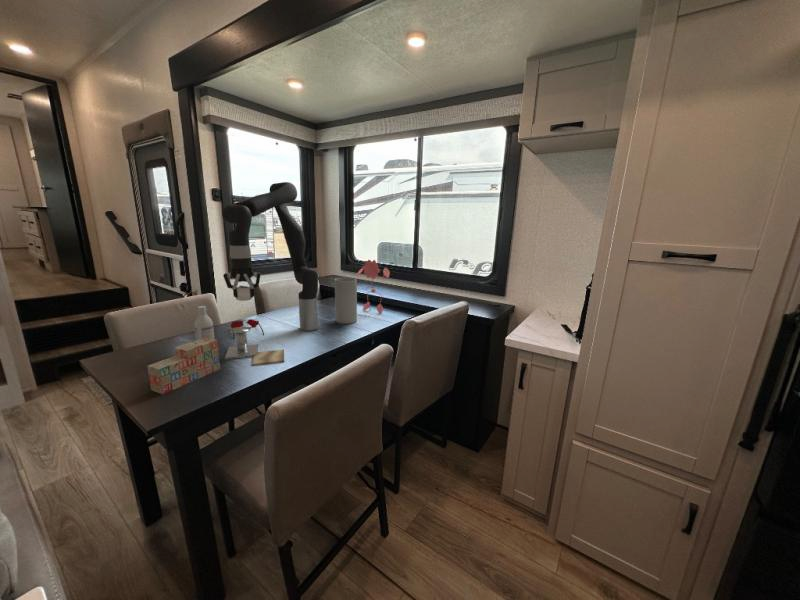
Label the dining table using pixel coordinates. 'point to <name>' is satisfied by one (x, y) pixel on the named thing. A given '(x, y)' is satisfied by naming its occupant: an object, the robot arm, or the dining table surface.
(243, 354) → the knob on square base
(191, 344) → the stack of blocks
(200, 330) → the bath foam
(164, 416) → the dining table surface
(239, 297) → the cap
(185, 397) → the dining table surface
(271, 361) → the coaster
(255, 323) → the glasses
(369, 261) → the figurine
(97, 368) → the dining table surface
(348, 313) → the cylinder vase
